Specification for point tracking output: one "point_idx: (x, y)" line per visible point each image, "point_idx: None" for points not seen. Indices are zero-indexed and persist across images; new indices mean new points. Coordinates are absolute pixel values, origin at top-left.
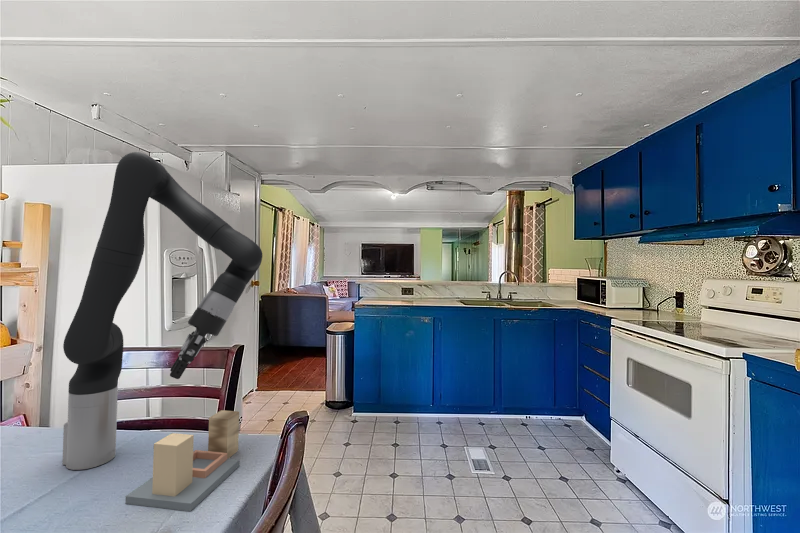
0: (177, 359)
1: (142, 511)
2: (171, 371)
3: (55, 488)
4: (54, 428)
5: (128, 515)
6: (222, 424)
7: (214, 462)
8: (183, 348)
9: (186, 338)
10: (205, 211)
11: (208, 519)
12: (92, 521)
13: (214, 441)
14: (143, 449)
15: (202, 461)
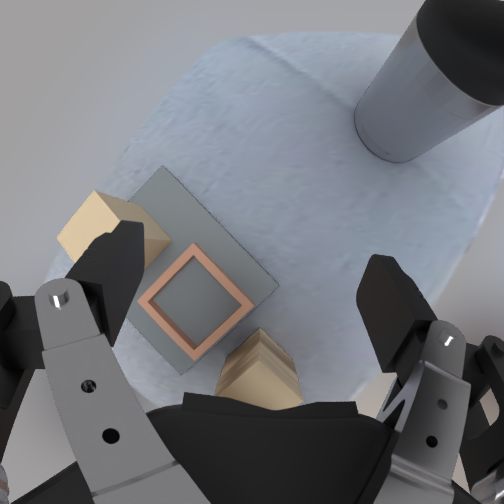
0: (403, 307)
1: (130, 193)
2: (369, 260)
3: (303, 76)
4: None
5: (132, 174)
6: (226, 381)
7: (164, 326)
8: (43, 350)
9: (374, 496)
10: None
11: (59, 277)
12: (150, 128)
13: (246, 350)
14: (394, 213)
15: (217, 311)
